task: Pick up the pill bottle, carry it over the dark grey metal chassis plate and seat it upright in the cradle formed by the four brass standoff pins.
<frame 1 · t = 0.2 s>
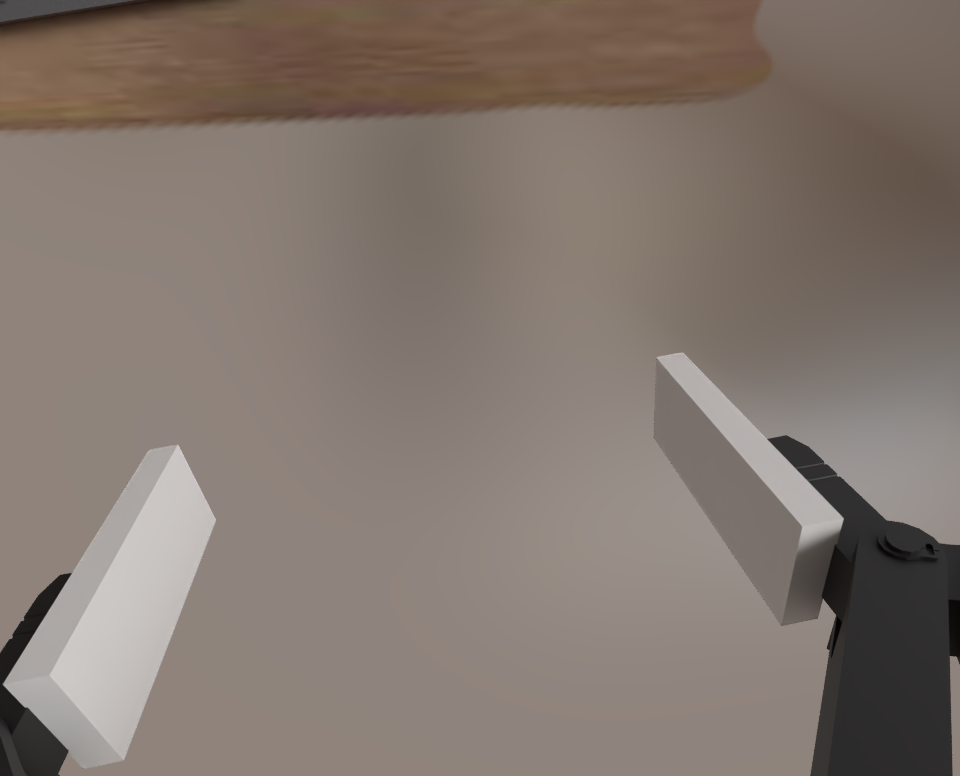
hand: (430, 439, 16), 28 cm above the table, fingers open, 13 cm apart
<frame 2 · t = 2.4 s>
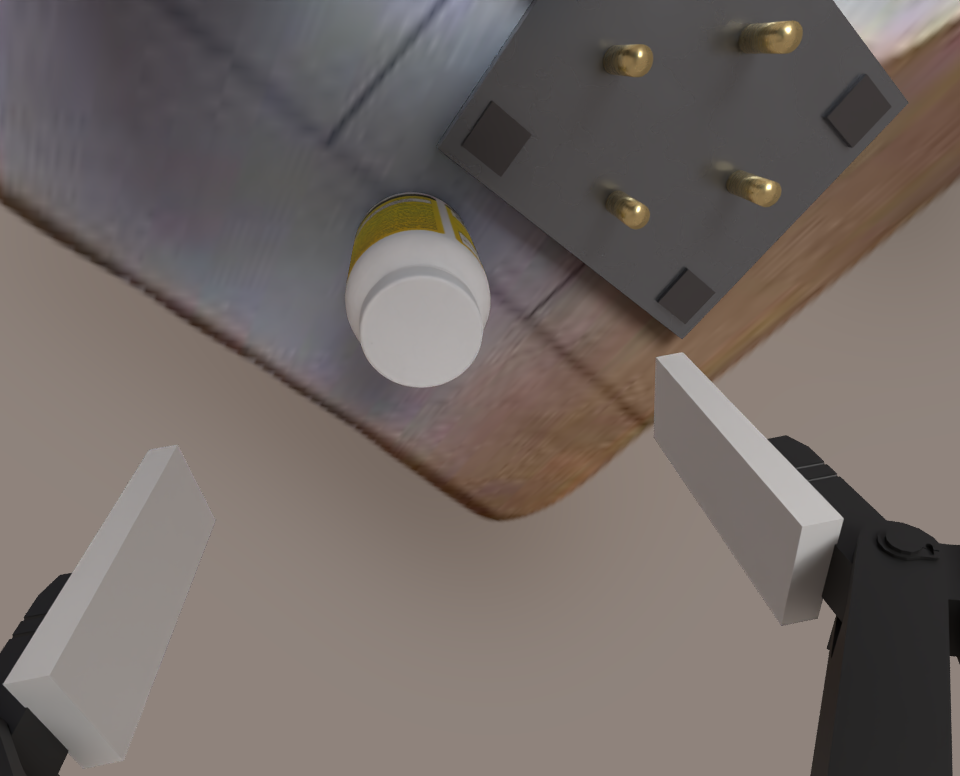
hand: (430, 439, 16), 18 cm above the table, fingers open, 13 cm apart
pill bottle: (413, 248, 31), on the table
chassis: (670, 122, 29), on the table
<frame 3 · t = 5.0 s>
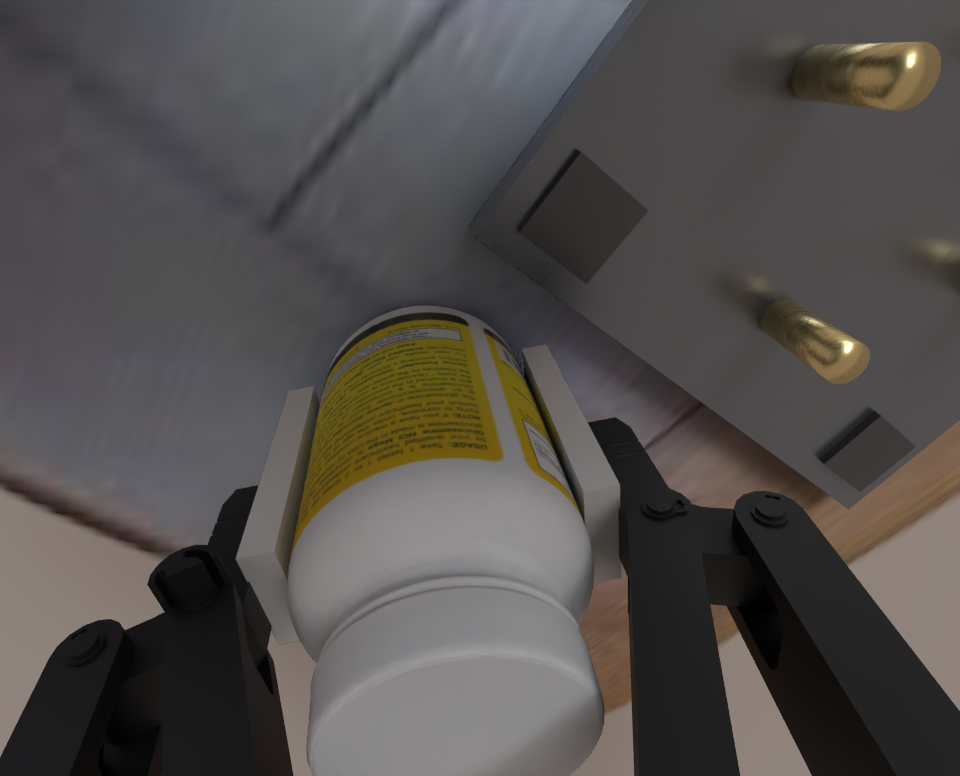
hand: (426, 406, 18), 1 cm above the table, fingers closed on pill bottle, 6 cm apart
pill bottle: (425, 387, 19), on the table, touching gripper
chassis: (878, 180, 17), on the table
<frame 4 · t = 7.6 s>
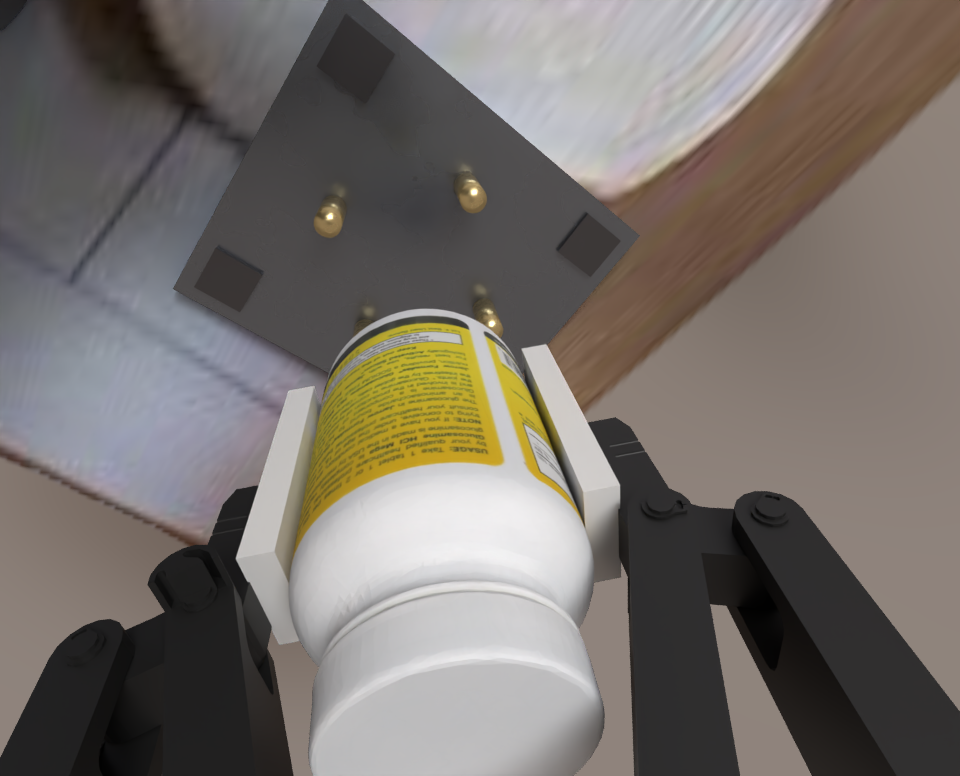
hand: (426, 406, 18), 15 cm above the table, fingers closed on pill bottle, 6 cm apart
pill bottle: (425, 390, 19), point 14 cm above the table, touching gripper
chassis: (412, 254, 31), on the table
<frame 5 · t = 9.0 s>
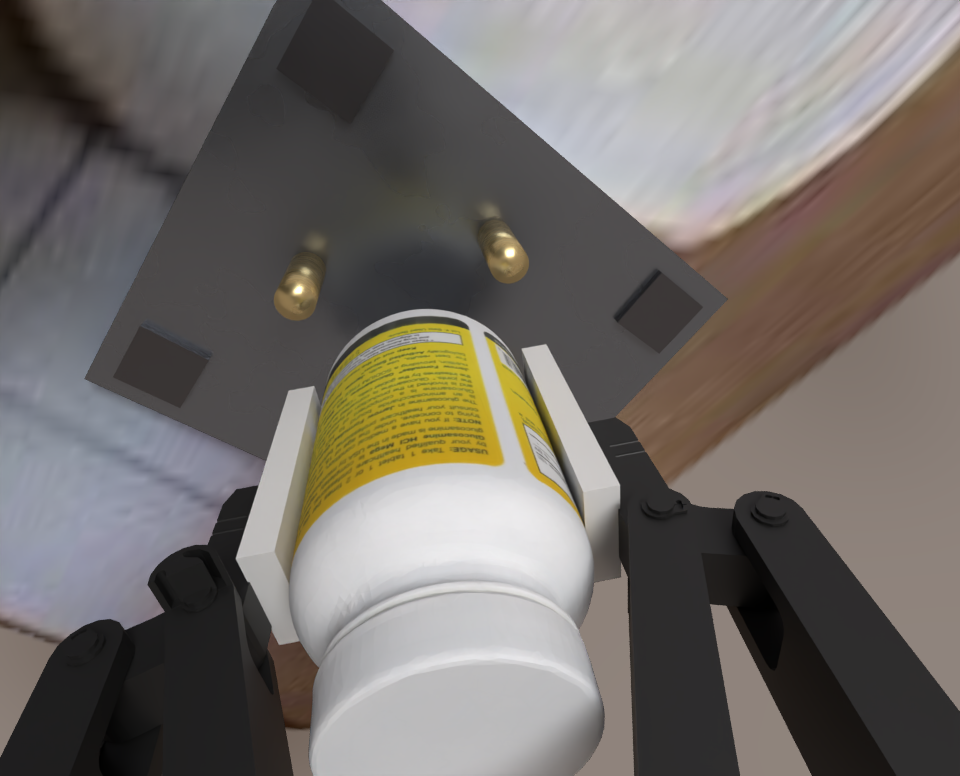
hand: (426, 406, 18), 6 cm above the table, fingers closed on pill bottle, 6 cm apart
pill bottle: (425, 390, 19), point 5 cm above the table, touching gripper
chassis: (418, 324, 22), on the table
when the fingers open (4 cm above the table, at t = 10.3 s): pill bottle drops 1 cm, resting on chassis.
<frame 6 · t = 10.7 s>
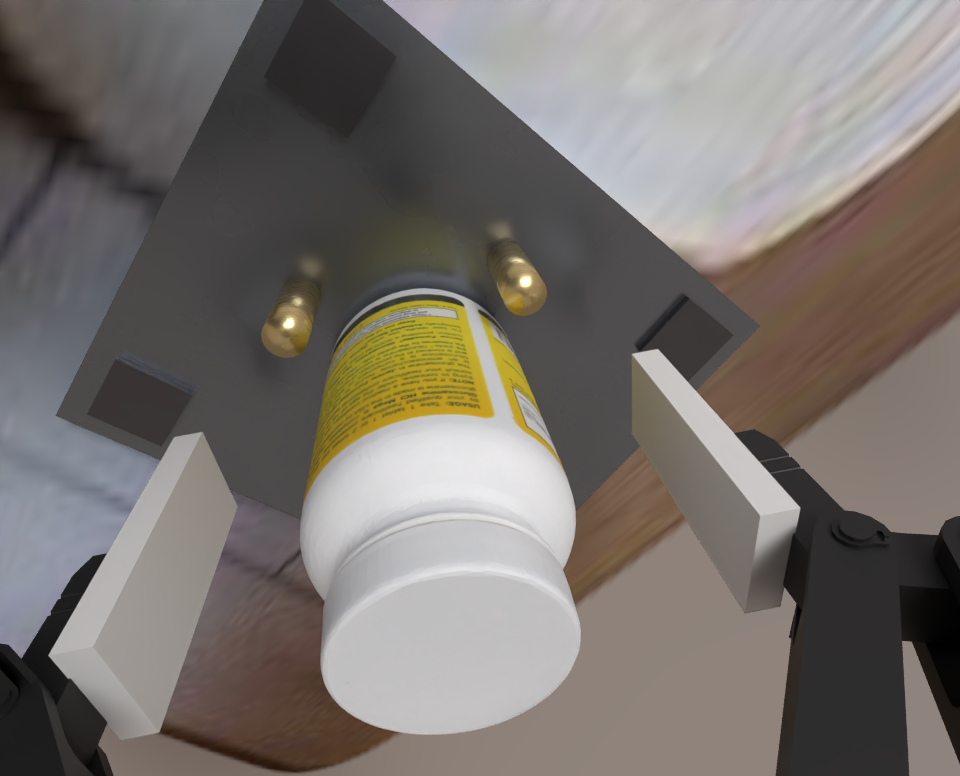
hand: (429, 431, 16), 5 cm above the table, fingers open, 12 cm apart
pill bottle: (423, 366, 20), point 1 cm above the table, touching chassis
chassis: (422, 353, 21), on the table
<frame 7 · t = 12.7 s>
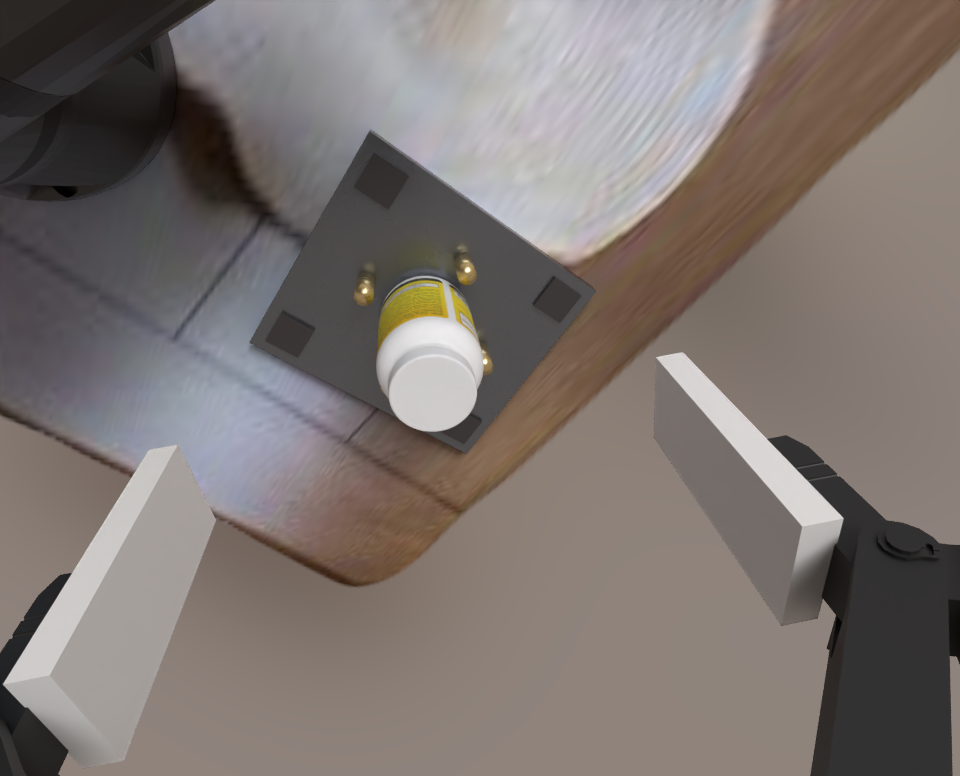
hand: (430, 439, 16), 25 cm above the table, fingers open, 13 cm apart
pill bottle: (425, 315, 40), point 1 cm above the table, touching chassis
chassis: (424, 310, 41), on the table
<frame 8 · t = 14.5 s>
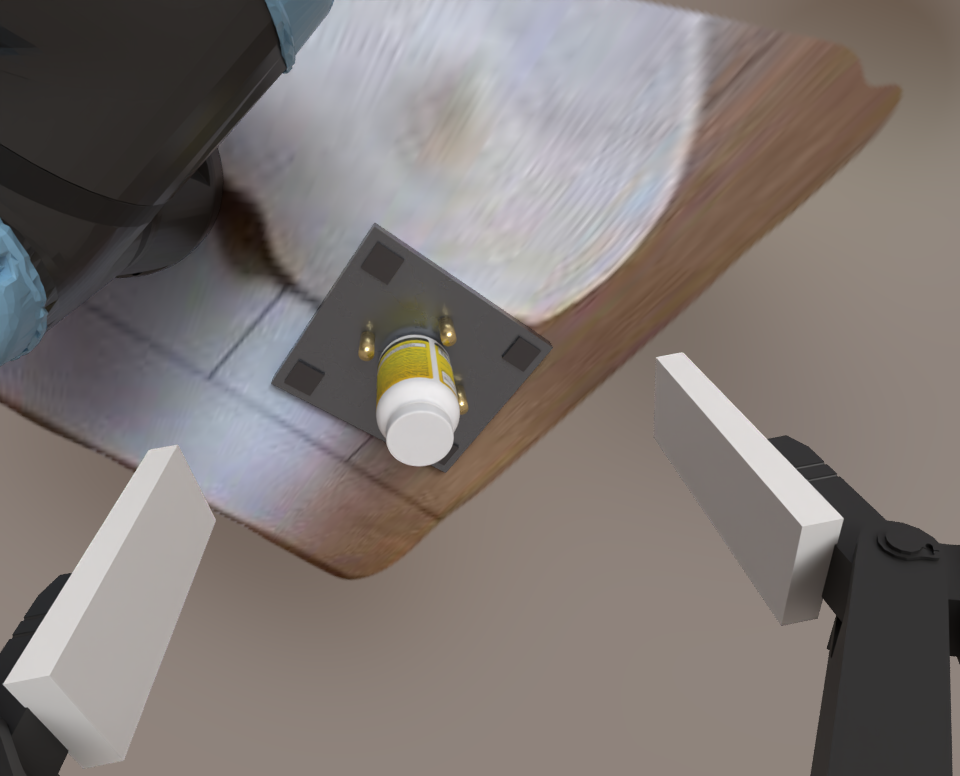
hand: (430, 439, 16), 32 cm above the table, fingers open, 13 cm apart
pill bottle: (414, 364, 49), point 1 cm above the table, touching chassis
chassis: (414, 358, 50), on the table
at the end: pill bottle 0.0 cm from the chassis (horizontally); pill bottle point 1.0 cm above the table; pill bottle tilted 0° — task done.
